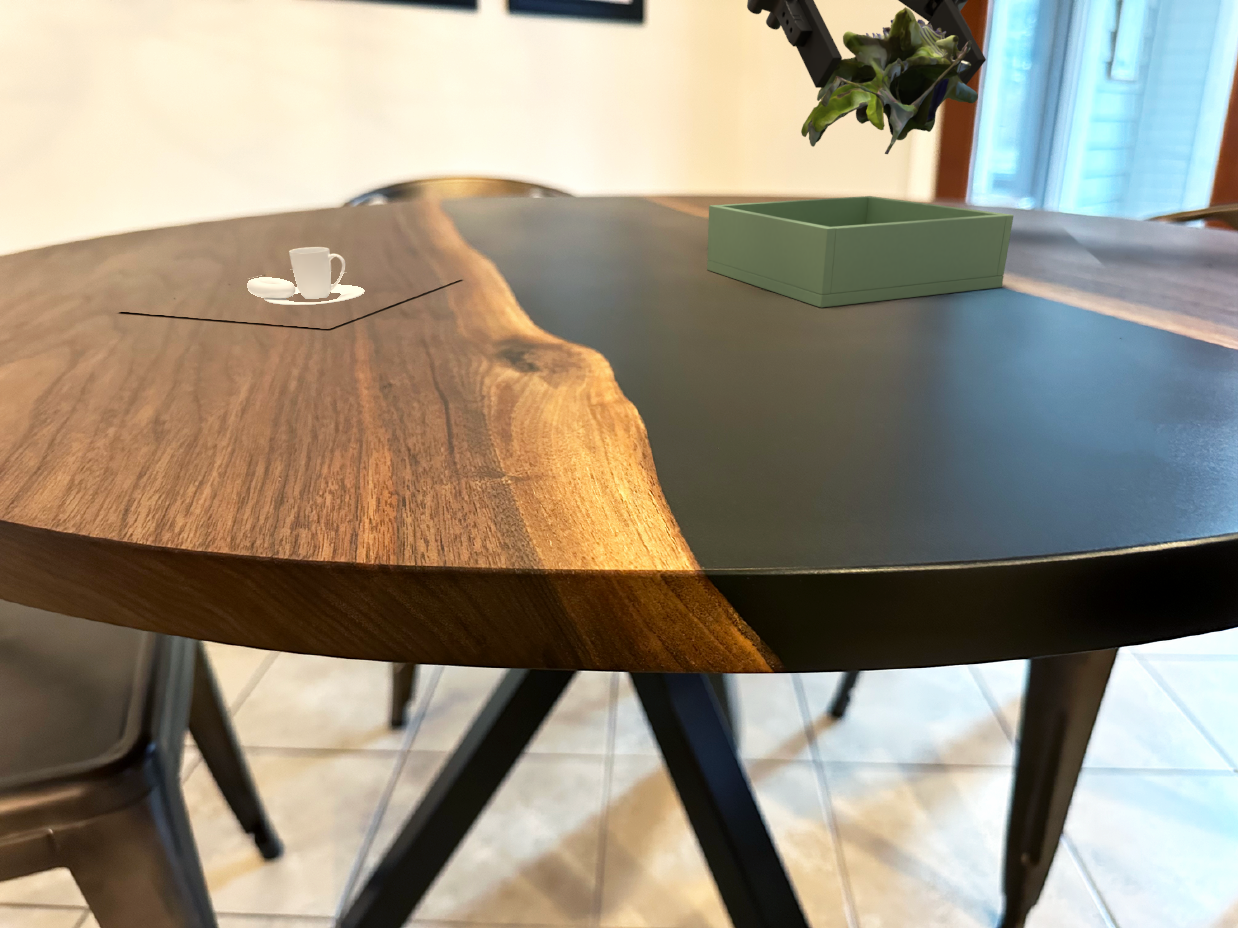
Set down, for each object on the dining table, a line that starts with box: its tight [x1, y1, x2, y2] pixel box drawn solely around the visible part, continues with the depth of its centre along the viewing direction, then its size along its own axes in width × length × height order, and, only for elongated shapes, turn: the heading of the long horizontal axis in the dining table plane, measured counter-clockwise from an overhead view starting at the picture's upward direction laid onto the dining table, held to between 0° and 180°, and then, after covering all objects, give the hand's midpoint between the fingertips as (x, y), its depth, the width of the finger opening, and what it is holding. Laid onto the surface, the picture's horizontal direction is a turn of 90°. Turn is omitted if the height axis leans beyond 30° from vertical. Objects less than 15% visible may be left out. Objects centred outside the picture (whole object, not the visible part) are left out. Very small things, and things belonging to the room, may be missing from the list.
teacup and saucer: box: [247, 246, 365, 305], centre depth 69 cm, size 9×8×4 cm
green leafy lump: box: [800, 6, 979, 155], centre depth 65 cm, size 11×11×12 cm
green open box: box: [706, 195, 1014, 309], centre depth 75 cm, size 19×19×6 cm
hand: (903, 74), depth 64 cm, fingers closed on green leafy lump, 13 cm apart
